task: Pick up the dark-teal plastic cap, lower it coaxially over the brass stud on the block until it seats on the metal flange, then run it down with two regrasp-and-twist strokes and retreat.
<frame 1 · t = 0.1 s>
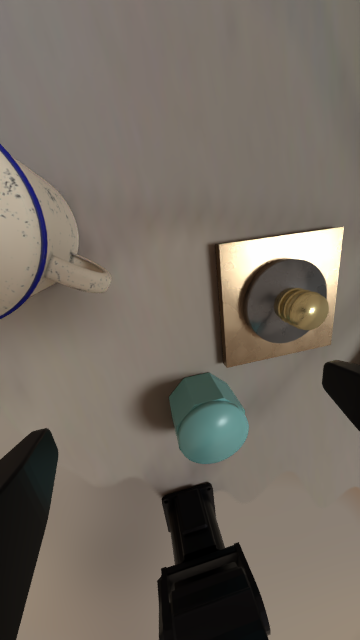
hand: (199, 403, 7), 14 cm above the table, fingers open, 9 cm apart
stud block: (276, 298, 23), on the table
cap: (199, 400, 25), on the table
teacup with lid: (40, 241, 18), on the table
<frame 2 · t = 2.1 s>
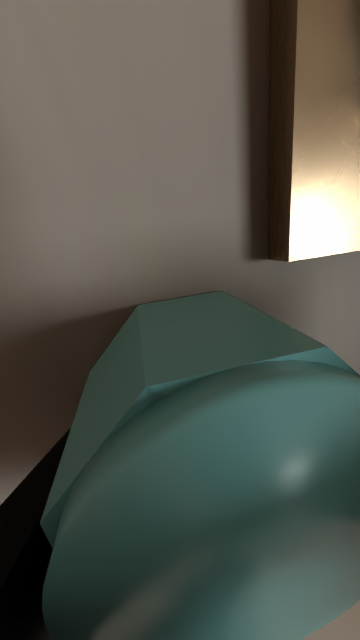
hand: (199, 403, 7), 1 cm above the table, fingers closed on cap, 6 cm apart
cap: (191, 384, 8), on the table, touching gripper
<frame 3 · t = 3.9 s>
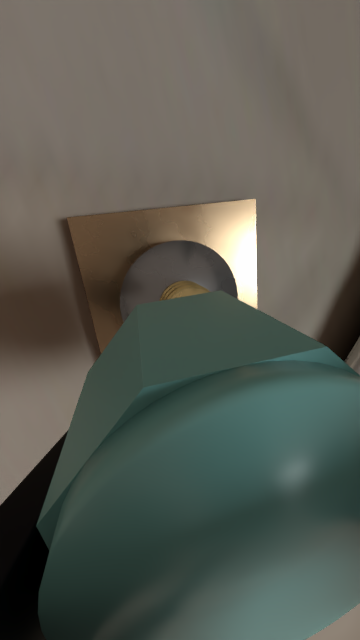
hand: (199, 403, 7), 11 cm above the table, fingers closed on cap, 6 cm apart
stud block: (176, 297, 17), on the table
cap: (191, 385, 8), point 10 cm above the table, touching gripper
when the fingers open (5 cm above the table, at t = 5.7 s): cap drops 2 cm, resting on stud block.
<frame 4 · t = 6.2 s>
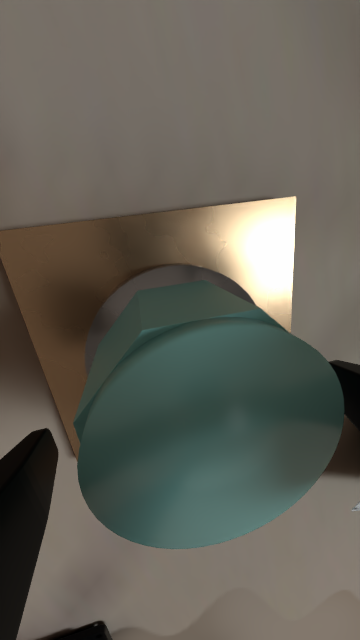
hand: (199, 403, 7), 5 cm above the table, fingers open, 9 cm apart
stud block: (173, 340, 12), on the table
cap: (181, 358, 10), point 2 cm above the table, touching stud block
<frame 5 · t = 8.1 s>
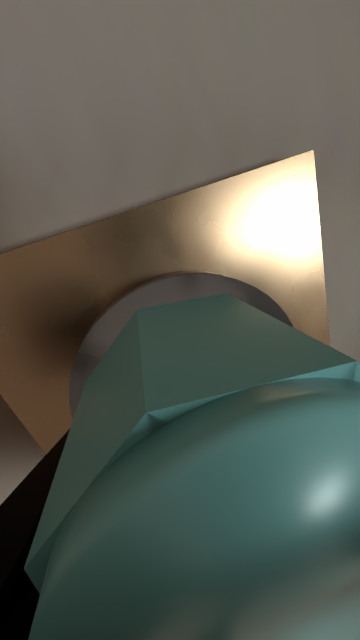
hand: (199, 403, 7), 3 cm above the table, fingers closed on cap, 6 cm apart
stud block: (183, 364, 10), on the table
cap: (195, 392, 8), point 2 cm above the table, touching gripper
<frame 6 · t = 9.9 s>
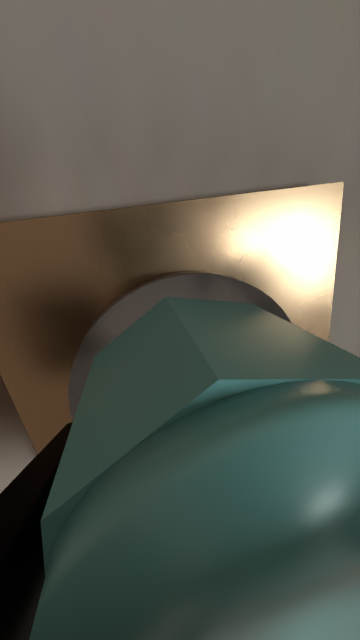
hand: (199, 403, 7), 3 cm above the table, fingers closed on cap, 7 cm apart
stud block: (183, 364, 10), on the table
cap: (195, 393, 8), point 2 cm above the table, touching gripper, stud block
when the fingers open (3 cm above the table, at t = 11.5 s): cap stays where it is, resting on stud block.
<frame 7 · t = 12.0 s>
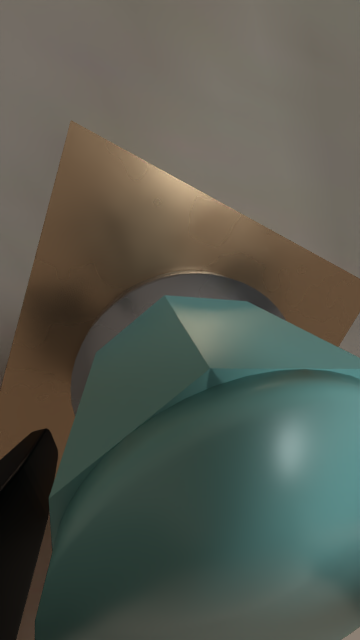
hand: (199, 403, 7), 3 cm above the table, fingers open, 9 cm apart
stud block: (181, 362, 10), on the table
cap: (193, 389, 8), point 2 cm above the table, touching stud block
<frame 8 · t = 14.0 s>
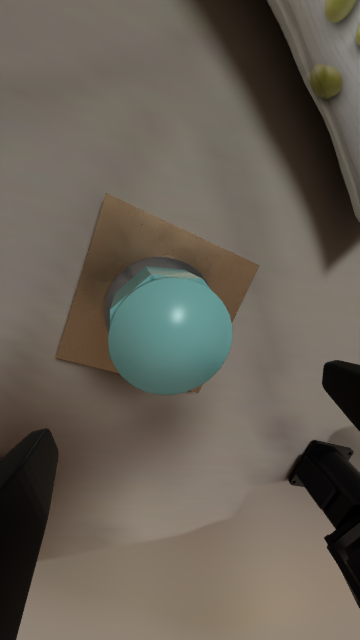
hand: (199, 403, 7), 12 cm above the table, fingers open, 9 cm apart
stud block: (158, 307, 19), on the table
cap: (161, 314, 17), point 2 cm above the table, touching stud block
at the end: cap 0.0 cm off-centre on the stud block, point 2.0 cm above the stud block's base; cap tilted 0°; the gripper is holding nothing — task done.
